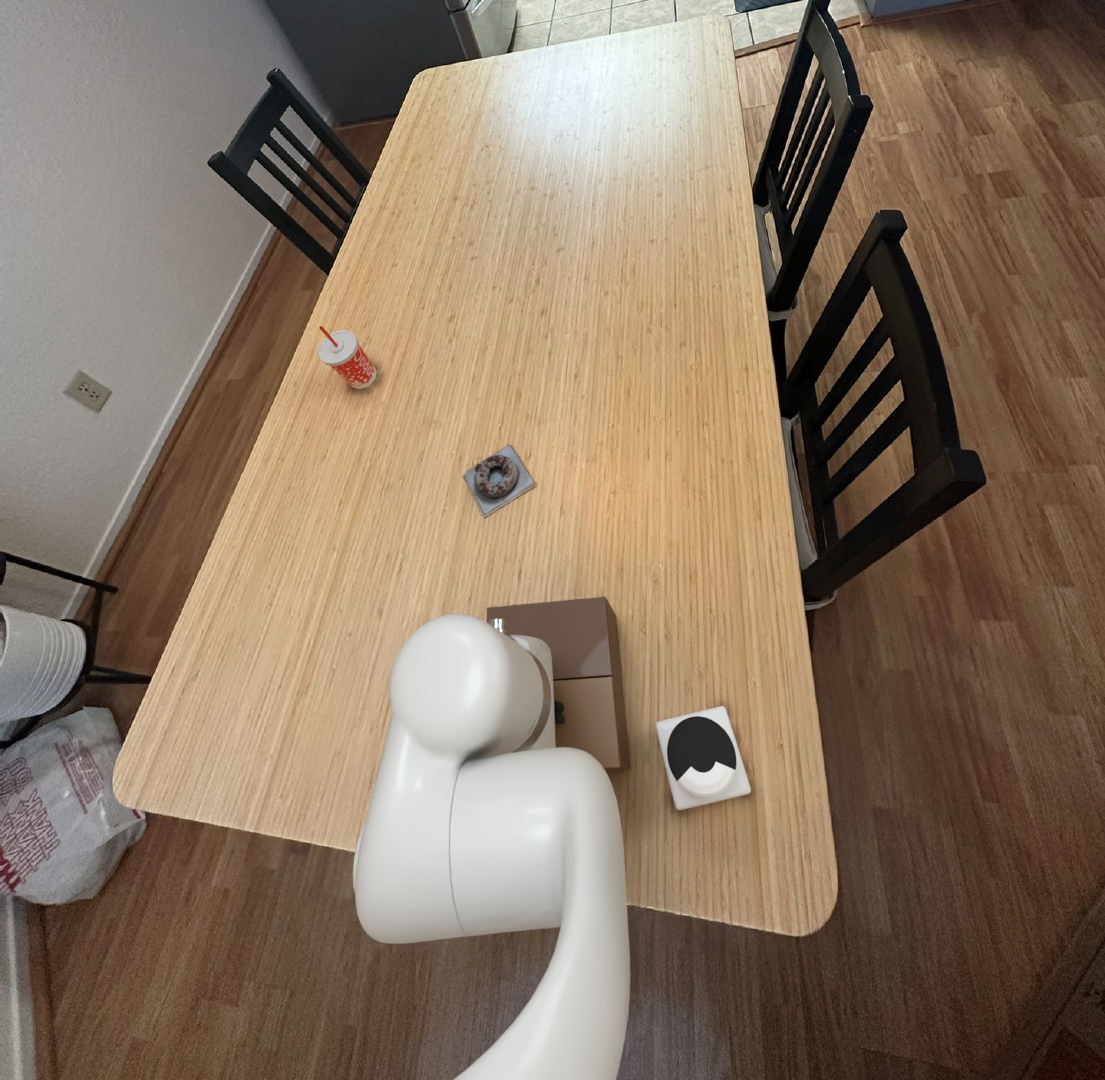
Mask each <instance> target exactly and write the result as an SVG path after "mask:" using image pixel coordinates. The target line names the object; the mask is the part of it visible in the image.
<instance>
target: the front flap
mask: <svg viewBox="0 0 1105 1080" xmlns="http://www.w3.org/2000/svg"><path fill="white" fill-rule="evenodd" d="M553 691H554V701H558V702H560V703H563V704H564V710H563V713H560V714H563V717H564V721H565V723H560V724H555V746H556V748H558V747H570V748H575V749H580V750H583V751H585V752H587V753H589V754H590V755H592V756H593V757H594V758H595V759H596V760H597V761H598V762H599V763H600V764H601V765H602V767H603V768H615V767H620V758H619V747H618V736H617V725H616V714H615V703H614V692H613V681H612V677H601V678H588V679H574V680H561V681H553Z"/></svg>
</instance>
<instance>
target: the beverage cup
mask: <svg viewBox="0 0 1105 1080" xmlns="http://www.w3.org/2000/svg"><path fill="white" fill-rule="evenodd" d="M318 329H319V330H320V331H321V332H322V333H323V334H324V335H325V338H324V339H323V340H322V342H321V343H320V344H319V347H318V357H319V360H321V362H323V363H324V364H325V365H326V366H329V367H331V368H332V369H333V371H335V372H336V373H337V374H338V375H339V376H340V377H342V378H343V380H344V381H346V382H347V383H348V384H349V385H350V386H351V387H353V388H354V389H357V390H362V389H366V388H369V386H370V385H372V384H373V383H374V382H375V380H376V378H377V370H376V367H375V366H374V365H373V363H372V361H371V360H370V359H369V357H368V356H367V354H366V352H365V351H364V349H363V348H362V347H361V345H360V343H359V340H358V338H357V337H356V334H355V333H353V332H352V331H350V330H347V329H346V330H345V329H340V330H337V331H333V332H332V333H330V334H329V332H328V331H327V330H326V328H324V327H323V325H321V326H319V328H318Z"/></svg>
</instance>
